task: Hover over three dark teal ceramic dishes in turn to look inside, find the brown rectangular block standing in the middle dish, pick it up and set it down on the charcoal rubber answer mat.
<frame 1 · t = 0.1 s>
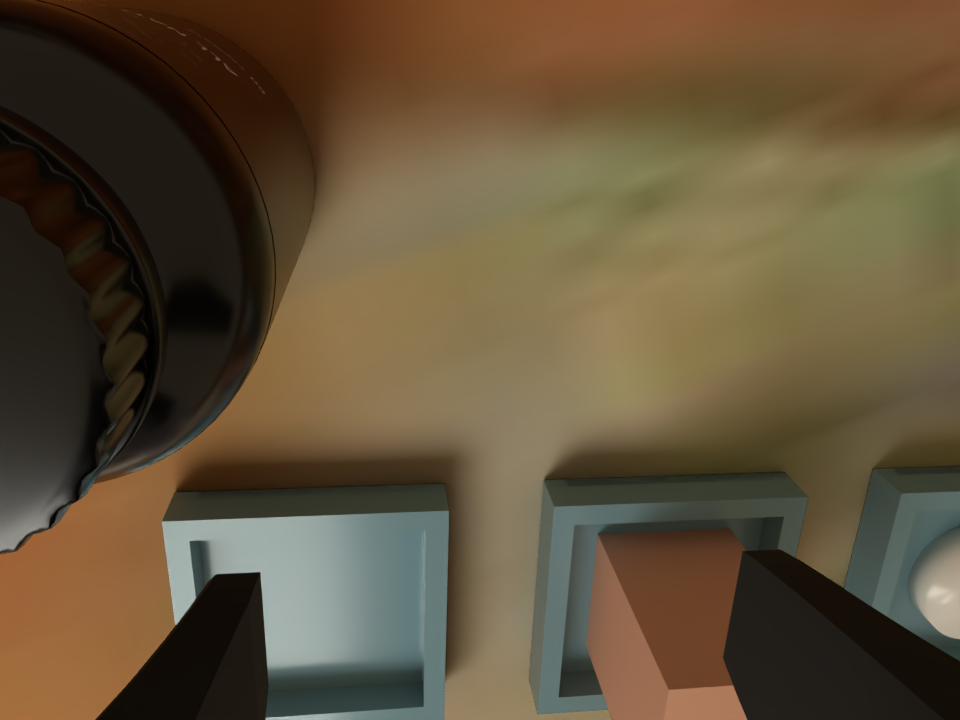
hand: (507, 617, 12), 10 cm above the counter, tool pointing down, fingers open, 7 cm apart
brown rectangular block: (656, 587, 24), resting on dish b
supplement bottle: (165, 170, 19), on the counter
dish b: (652, 579, 25), on the counter
dish a: (317, 596, 23), on the counter
dish c: (953, 564, 26), on the counter
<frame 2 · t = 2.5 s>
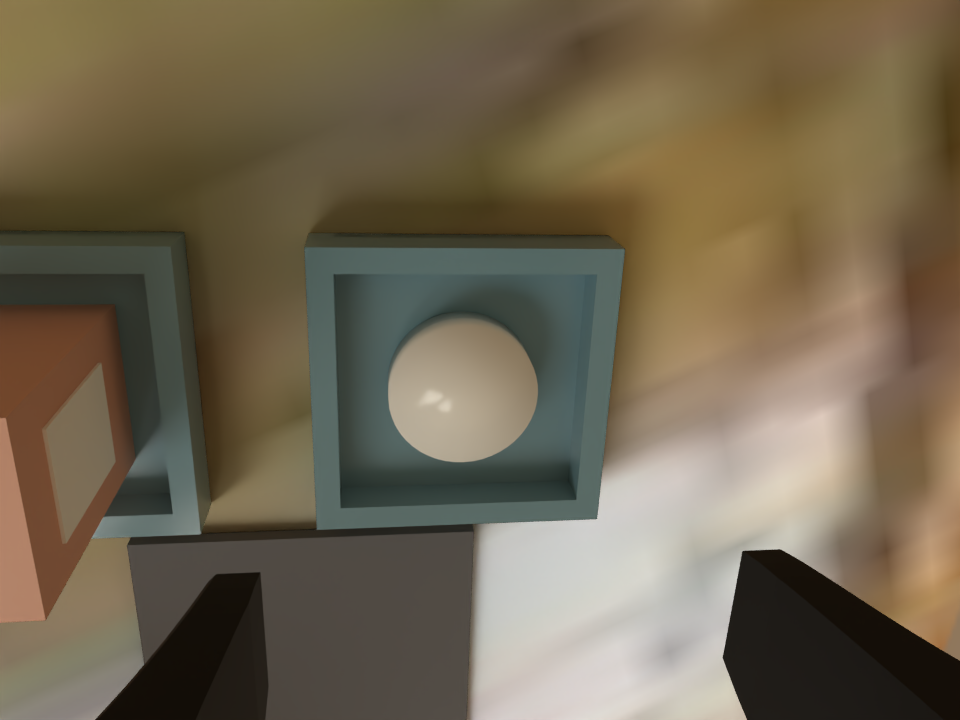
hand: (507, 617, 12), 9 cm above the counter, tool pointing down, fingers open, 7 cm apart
brown rectangular block: (36, 386, 19), resting on dish b
dish b: (42, 379, 19), on the counter
answer mat: (312, 662, 23), on the counter
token: (459, 379, 20), resting on dish c
dish c: (458, 373, 21), on the counter
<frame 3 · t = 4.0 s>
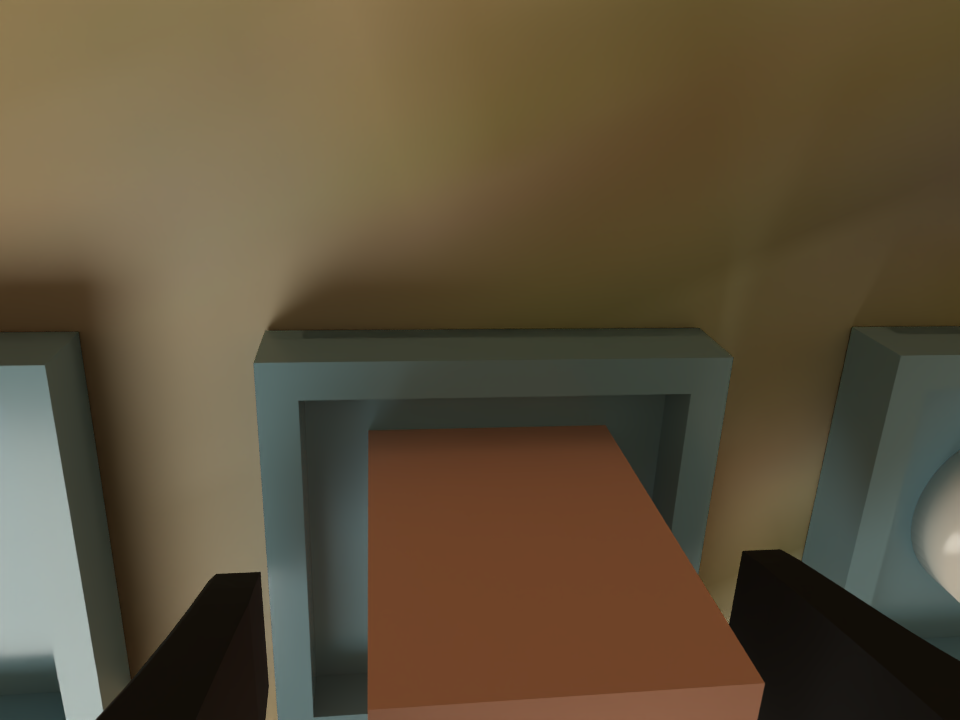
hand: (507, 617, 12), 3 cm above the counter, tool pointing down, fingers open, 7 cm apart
brown rectangular block: (484, 530, 14), resting on dish b
dish b: (481, 517, 15), on the counter
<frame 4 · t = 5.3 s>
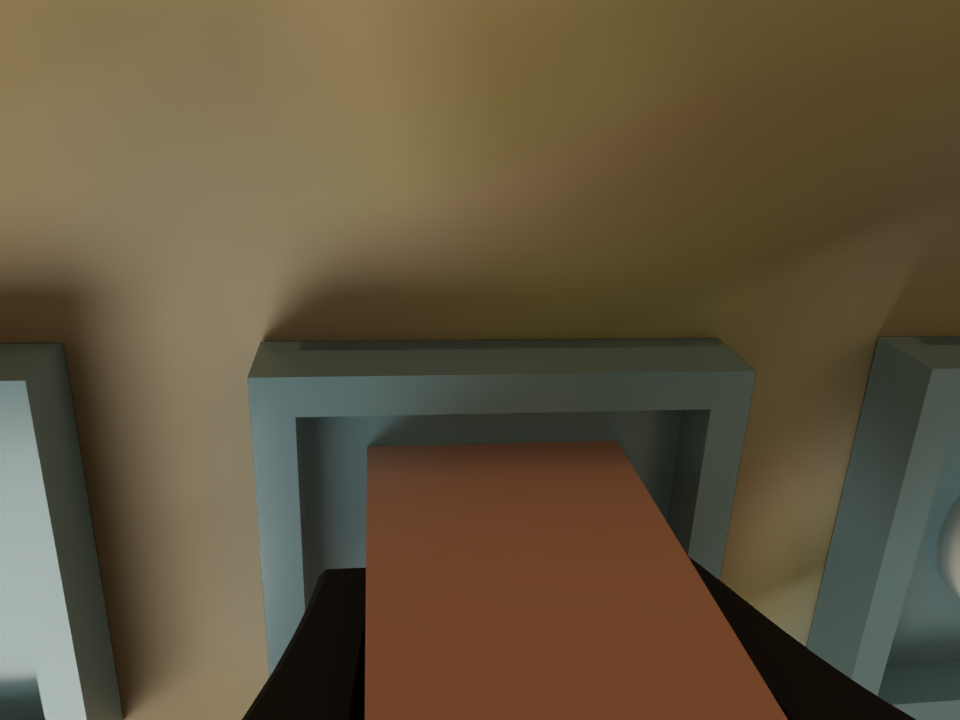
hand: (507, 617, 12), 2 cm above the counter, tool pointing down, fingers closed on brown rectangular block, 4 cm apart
brown rectangular block: (489, 550, 14), resting on dish b, touching gripper
dish b: (488, 536, 14), on the counter
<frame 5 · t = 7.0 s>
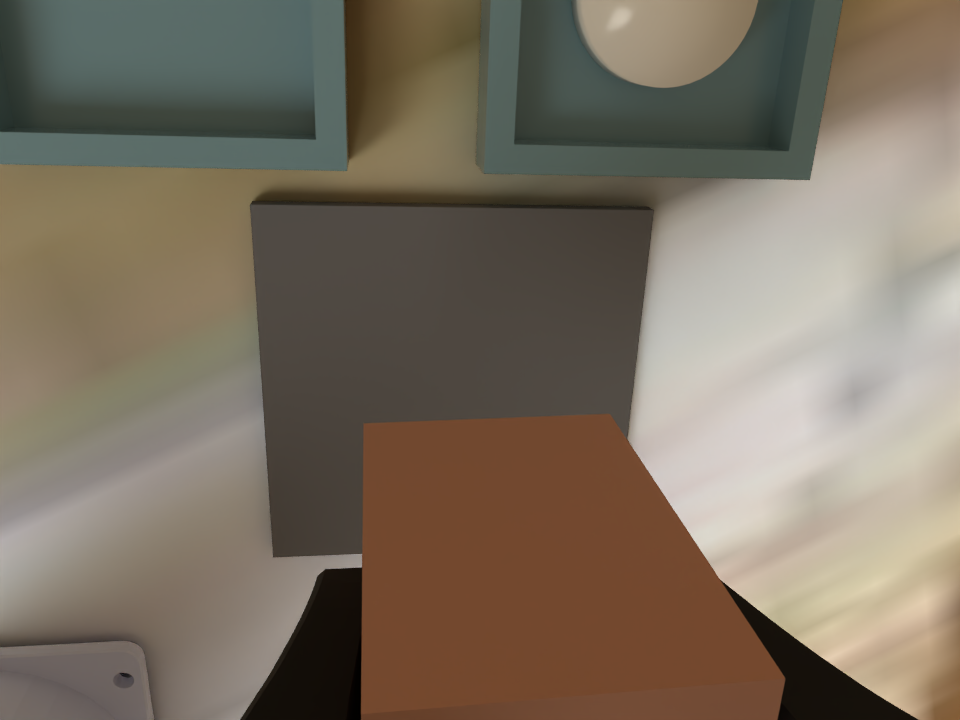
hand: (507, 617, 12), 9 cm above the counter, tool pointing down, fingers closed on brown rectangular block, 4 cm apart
brown rectangular block: (486, 525, 14), point 7 cm above the counter, touching gripper
answer mat: (451, 386, 20), on the counter
when the fingers open (3 cm above the counter, at t = 8.7 s): brown rectangular block stays where it is, resting on answer mat.
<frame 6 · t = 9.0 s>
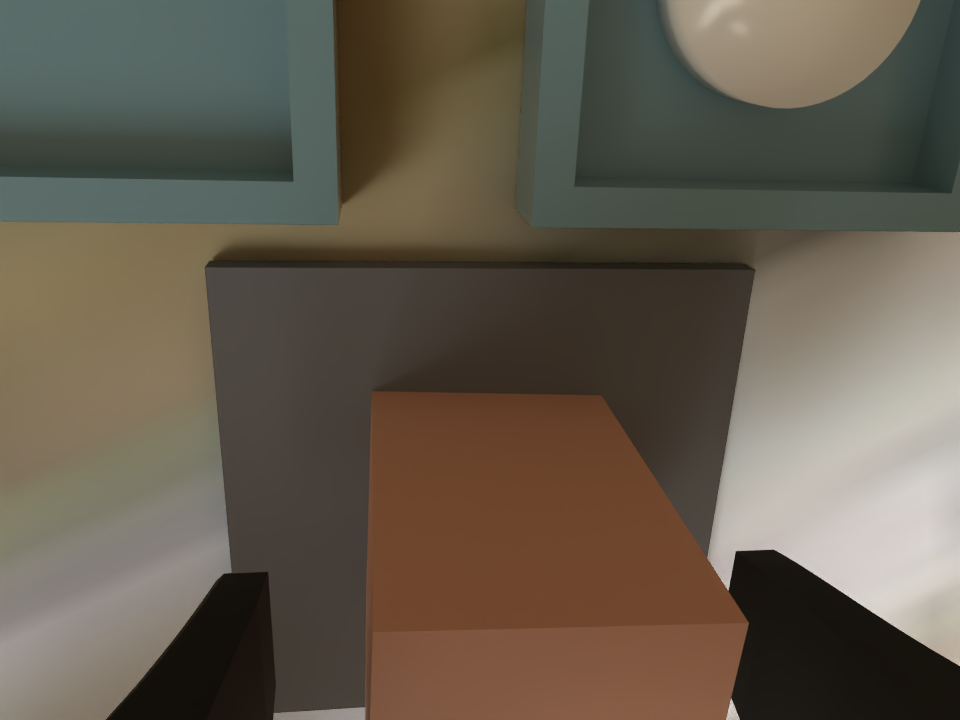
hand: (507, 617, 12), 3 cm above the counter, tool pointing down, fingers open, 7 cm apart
brown rectangular block: (480, 494, 15), resting on answer mat
answer mat: (478, 496, 15), on the counter
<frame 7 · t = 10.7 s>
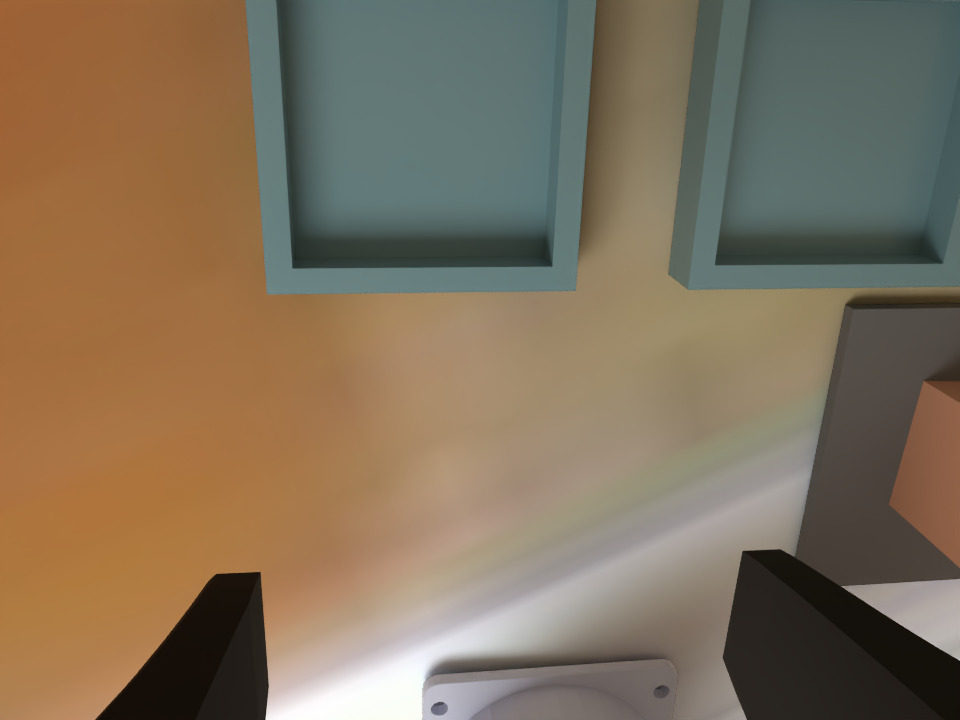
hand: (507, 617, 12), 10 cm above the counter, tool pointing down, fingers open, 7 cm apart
dish b: (823, 132, 20), on the counter
answer mat: (957, 446, 24), on the counter
dish a: (421, 127, 19), on the counter
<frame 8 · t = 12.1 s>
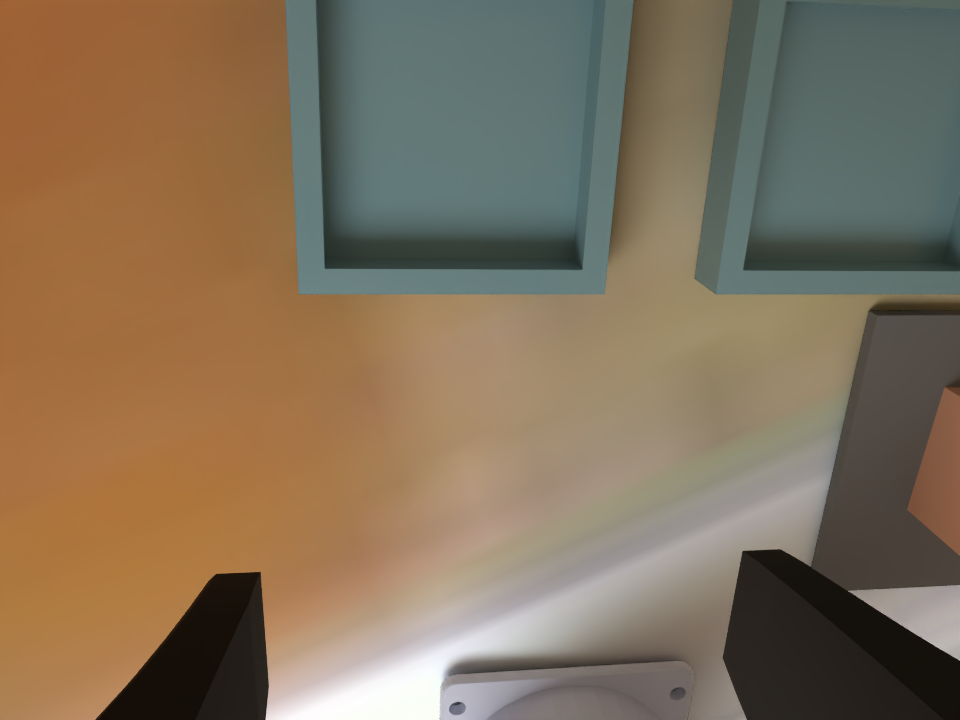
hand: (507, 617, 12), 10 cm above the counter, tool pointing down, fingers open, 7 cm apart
dish b: (851, 139, 20), on the counter
dish a: (453, 129, 19), on the counter
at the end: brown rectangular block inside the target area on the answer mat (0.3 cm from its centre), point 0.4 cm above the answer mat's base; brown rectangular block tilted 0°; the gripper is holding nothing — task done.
